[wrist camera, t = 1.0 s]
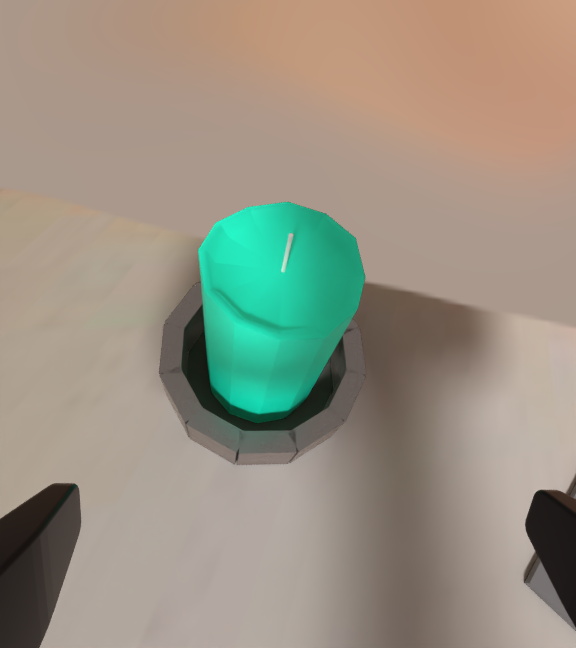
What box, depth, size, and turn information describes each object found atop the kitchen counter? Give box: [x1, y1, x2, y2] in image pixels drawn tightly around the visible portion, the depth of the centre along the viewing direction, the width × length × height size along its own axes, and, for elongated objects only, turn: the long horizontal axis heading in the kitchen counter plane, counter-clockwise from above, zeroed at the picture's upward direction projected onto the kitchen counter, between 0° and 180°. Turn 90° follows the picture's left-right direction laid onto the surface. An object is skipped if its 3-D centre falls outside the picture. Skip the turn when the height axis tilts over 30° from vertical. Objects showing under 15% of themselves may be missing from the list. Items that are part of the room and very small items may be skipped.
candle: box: [198, 202, 365, 423], centre depth 19 cm, size 6×6×12 cm
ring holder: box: [159, 282, 366, 465], centre depth 23 cm, size 10×10×3 cm
